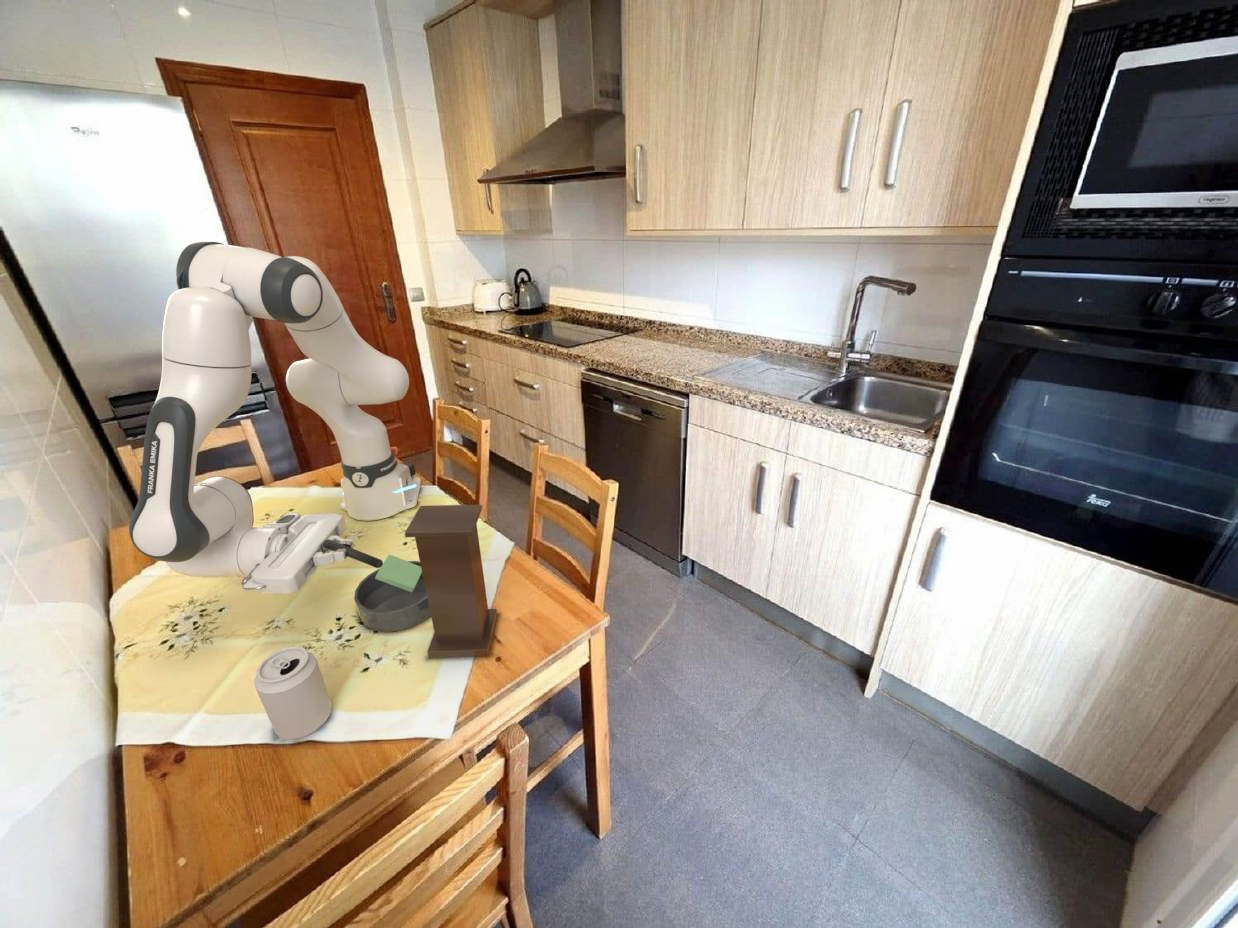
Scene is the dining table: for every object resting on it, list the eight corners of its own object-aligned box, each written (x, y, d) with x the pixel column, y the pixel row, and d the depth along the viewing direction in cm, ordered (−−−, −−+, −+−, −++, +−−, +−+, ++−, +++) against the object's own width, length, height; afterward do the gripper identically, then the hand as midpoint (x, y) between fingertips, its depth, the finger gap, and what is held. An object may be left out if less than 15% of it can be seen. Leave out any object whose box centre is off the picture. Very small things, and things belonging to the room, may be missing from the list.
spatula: (313, 555, 88) (316, 548, 87) (329, 535, 93) (332, 529, 93) (412, 592, 93) (415, 586, 92) (421, 572, 98) (424, 566, 98)
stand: (443, 616, 95) (422, 502, 84) (497, 614, 95) (482, 501, 84) (428, 658, 86) (402, 536, 75) (487, 656, 86) (470, 535, 75)
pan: (377, 579, 104) (372, 561, 102) (450, 577, 105) (447, 559, 103) (345, 633, 91) (340, 614, 89) (430, 630, 91) (426, 611, 89)
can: (308, 748, 71) (284, 689, 66) (263, 737, 72) (236, 679, 67) (344, 703, 78) (325, 646, 72) (302, 694, 79) (280, 637, 74)
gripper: (228, 574, 80) (317, 572, 81) (295, 508, 98) (367, 506, 99) (240, 604, 83) (326, 602, 84) (303, 534, 101) (374, 533, 102)
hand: (349, 549), depth 91 cm, fingers closed on spatula, 1 cm apart
